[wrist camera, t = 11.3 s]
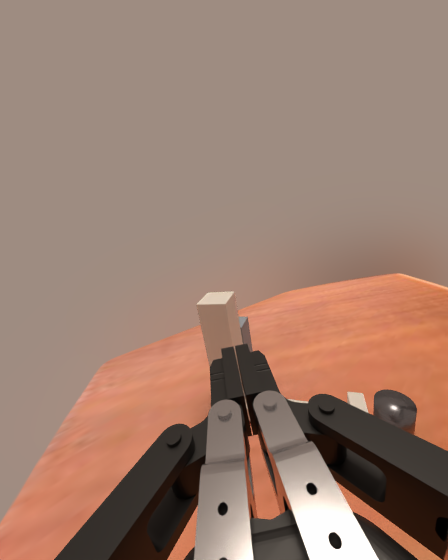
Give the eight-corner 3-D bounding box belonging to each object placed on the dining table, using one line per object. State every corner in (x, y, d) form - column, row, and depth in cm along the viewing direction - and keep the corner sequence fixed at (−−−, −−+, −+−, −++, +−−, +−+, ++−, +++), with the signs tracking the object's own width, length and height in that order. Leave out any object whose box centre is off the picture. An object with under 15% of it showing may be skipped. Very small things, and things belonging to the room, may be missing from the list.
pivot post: (375, 418, 28) (376, 385, 27) (413, 433, 26) (417, 397, 24) (370, 442, 26) (371, 407, 24) (411, 461, 23) (415, 424, 22)
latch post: (257, 385, 36) (247, 316, 33) (252, 400, 34) (241, 327, 30) (239, 382, 38) (228, 316, 34) (233, 396, 35) (220, 326, 31)
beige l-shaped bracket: (362, 417, 28) (364, 287, 23) (368, 445, 25) (373, 302, 20) (219, 397, 35) (197, 292, 30) (211, 417, 32) (185, 304, 27)
